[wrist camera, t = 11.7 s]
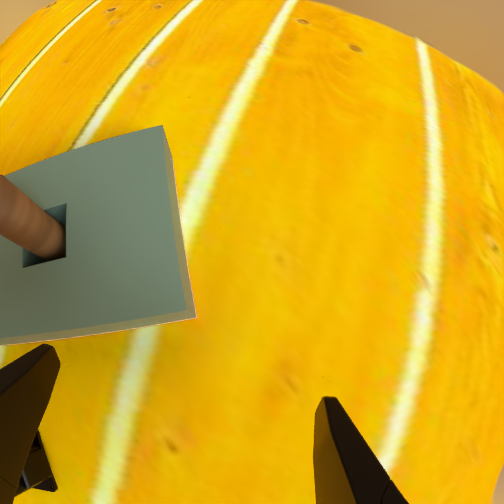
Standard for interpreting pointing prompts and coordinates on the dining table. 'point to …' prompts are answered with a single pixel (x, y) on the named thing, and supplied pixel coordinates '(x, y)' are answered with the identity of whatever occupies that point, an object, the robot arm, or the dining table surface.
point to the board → (100, 244)
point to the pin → (29, 224)
